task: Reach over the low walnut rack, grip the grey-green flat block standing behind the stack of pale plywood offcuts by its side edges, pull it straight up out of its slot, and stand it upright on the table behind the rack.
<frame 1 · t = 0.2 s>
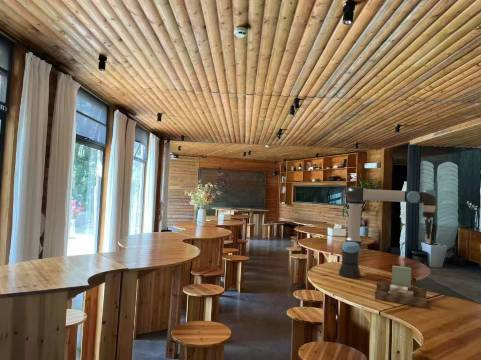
hand: (427, 242, 237), 28 cm above the table, fingers open, 13 cm apart
grey-green flat block: (400, 294, 200), point 1 cm above the table, touching rack
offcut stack: (400, 297, 194), point 1 cm above the table, touching rack
rack: (400, 299, 196), on the table
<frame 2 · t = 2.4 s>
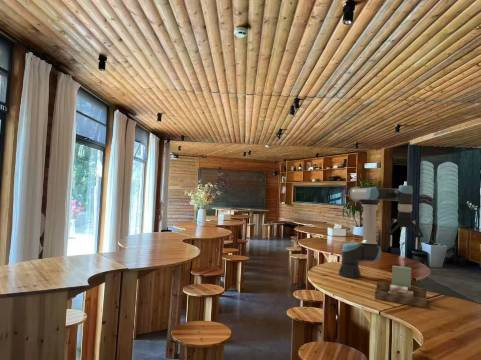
hand: (403, 247, 201), 29 cm above the table, fingers open, 13 cm apart
nothing on the table moved.
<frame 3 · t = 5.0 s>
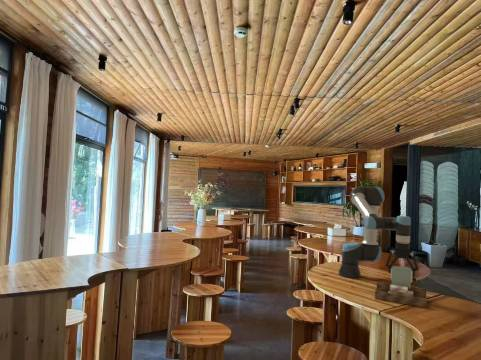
hand: (401, 280, 200), 10 cm above the table, fingers closed on grey-green flat block, 10 cm apart
grey-green flat block: (400, 294, 200), point 2 cm above the table, touching gripper, rack
everything else where it was.
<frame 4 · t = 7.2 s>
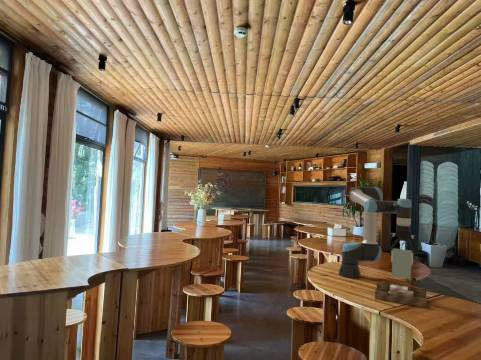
hand: (401, 262, 201), 20 cm above the table, fingers closed on grey-green flat block, 10 cm apart
grey-green flat block: (401, 277, 201), point 12 cm above the table, touching gripper
everything else where it was.
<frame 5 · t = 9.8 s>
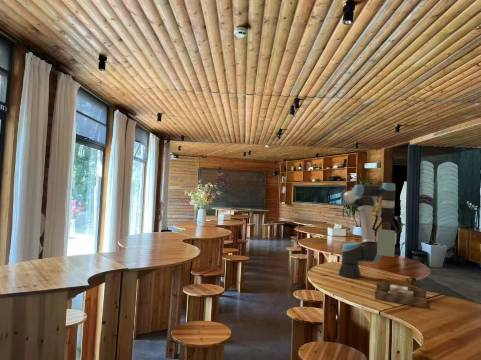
hand: (386, 242, 216), 29 cm above the table, fingers closed on grey-green flat block, 10 cm apart
grey-green flat block: (385, 255, 216), point 21 cm above the table, touching gripper
everything else where it was.
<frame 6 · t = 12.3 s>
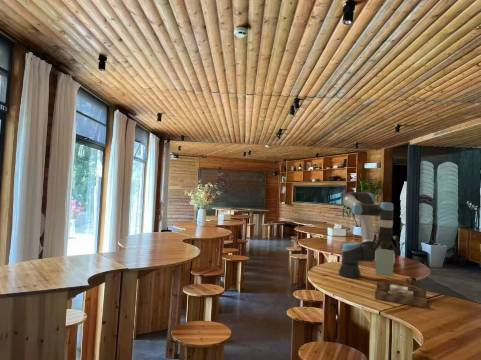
hand: (384, 262, 216), 17 cm above the table, fingers closed on grey-green flat block, 10 cm apart
grey-green flat block: (384, 275, 216), point 9 cm above the table, touching gripper
everything else where it was.
when the fingers open (10 cm above the table, at t = 14.7 s): grey-green flat block drops 2 cm, on the table.
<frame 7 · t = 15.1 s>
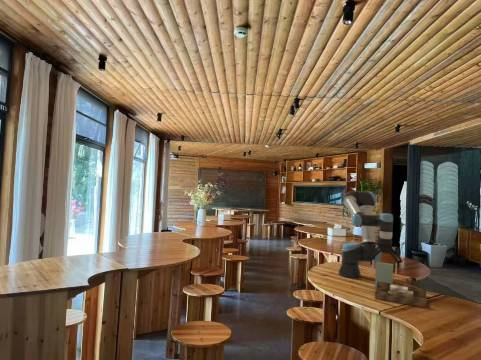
hand: (384, 271, 216), 11 cm above the table, fingers open, 13 cm apart
grey-green flat block: (383, 288, 216), on the table
everything else where it was.
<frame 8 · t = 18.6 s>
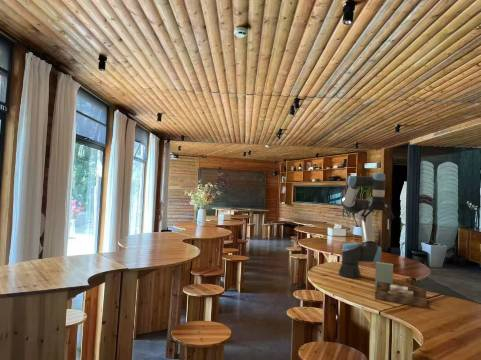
hand: (377, 228, 228), 37 cm above the table, fingers open, 13 cm apart
nothing on the table moved.
at the end: grey-green flat block inside the target area (0.0 cm from its centre), on the table; grey-green flat block tilted 0°; the gripper is holding nothing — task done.
